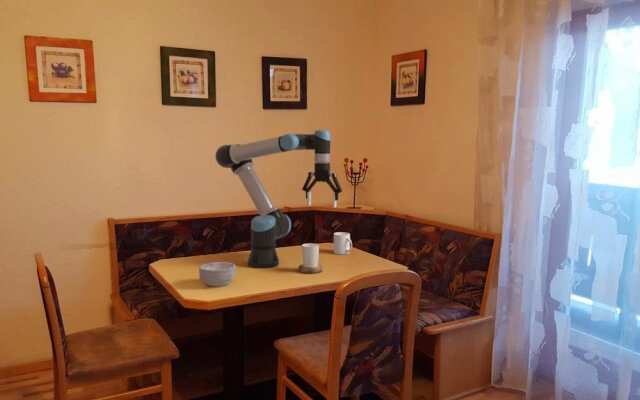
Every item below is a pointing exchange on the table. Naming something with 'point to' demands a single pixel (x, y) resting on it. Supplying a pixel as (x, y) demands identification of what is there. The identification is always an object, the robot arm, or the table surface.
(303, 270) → the trivet
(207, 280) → the grey bowl
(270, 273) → the table surface
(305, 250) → the white cup
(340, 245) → the mug
